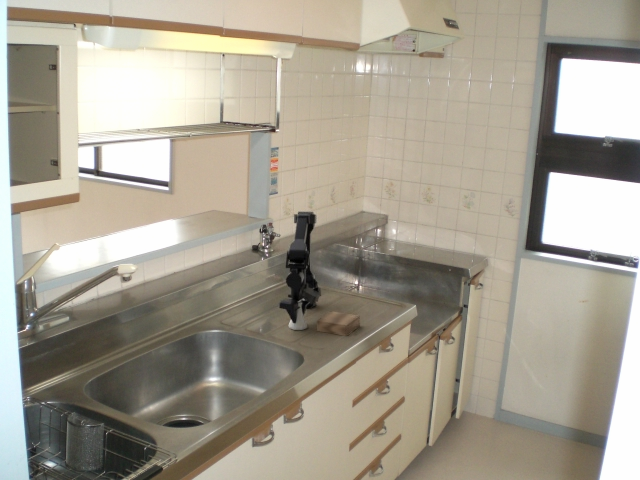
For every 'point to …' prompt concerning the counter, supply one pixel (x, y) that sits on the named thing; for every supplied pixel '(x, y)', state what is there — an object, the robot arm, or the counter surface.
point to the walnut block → (338, 323)
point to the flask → (298, 320)
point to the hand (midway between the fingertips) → (298, 320)
